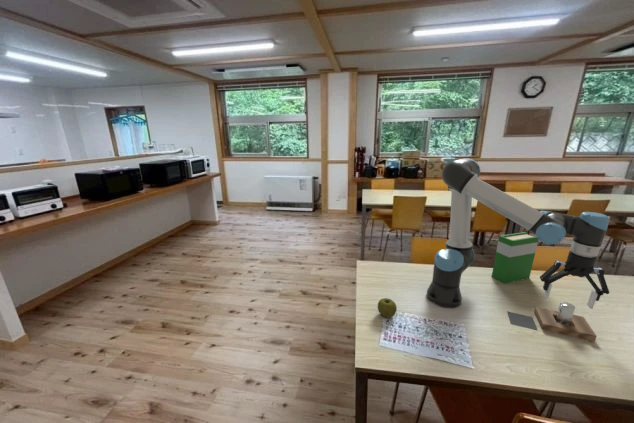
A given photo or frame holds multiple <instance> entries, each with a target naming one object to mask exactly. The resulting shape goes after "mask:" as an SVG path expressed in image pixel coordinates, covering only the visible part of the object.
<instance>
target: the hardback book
mask: <svg viewBox="0 0 634 423" xmlns="http://www.w3.org/2000/svg"><path fill="white" fill-rule="evenodd" d="M538 243H539V239H538V238H537V236H536V235H535V236H532V235H530V234H527V232H526V231H523V232H516V233H510V234H509V233H508V234H502V235H499V236H498V241H497V247H496V252H495V255H494V263H493V267H492V272H491V278H493V279H495V280H497V281H498V282H500V283H503V284H508V283H513V281H514V282H518V281H517V280H519V281H522V279H524V280H527V279H526V278H528V279H530V277H531V273H532V268H533V264H534V260H535V256H536V251H537V246H538Z"/></svg>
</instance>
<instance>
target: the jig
mask: <svg viewBox="0 0 634 423" xmlns="http://www.w3.org/2000/svg"><path fill="white" fill-rule="evenodd" d="M533 313H534V315H535V317H536V320H537V322H538V325H539V327H540V329H541V330H543V331H547V332H552V333H556V334H560V335H563V336H568V337H573V338H577V339H581V340H586V341H587V342H590V343H596V339H597V336H598V335H597V334H596V333H595V332H594V330H593V328H592V327H591V325H590V324H589V323H588V321H587V320H586V319H585V317H584V316H581V315H576V314H573V317H572V320H571V323H570V325H565V324H561V323H557V322H556V317H557V313H558V310H553V309H549V308H542V307H539V306H535V307H534V310H533Z"/></svg>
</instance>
